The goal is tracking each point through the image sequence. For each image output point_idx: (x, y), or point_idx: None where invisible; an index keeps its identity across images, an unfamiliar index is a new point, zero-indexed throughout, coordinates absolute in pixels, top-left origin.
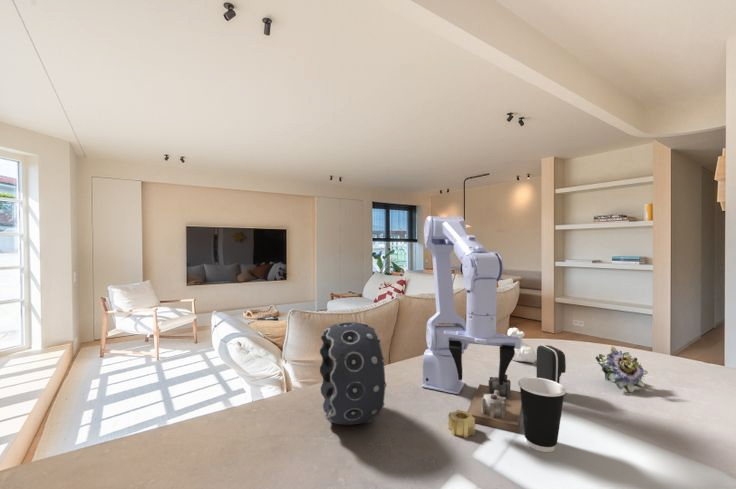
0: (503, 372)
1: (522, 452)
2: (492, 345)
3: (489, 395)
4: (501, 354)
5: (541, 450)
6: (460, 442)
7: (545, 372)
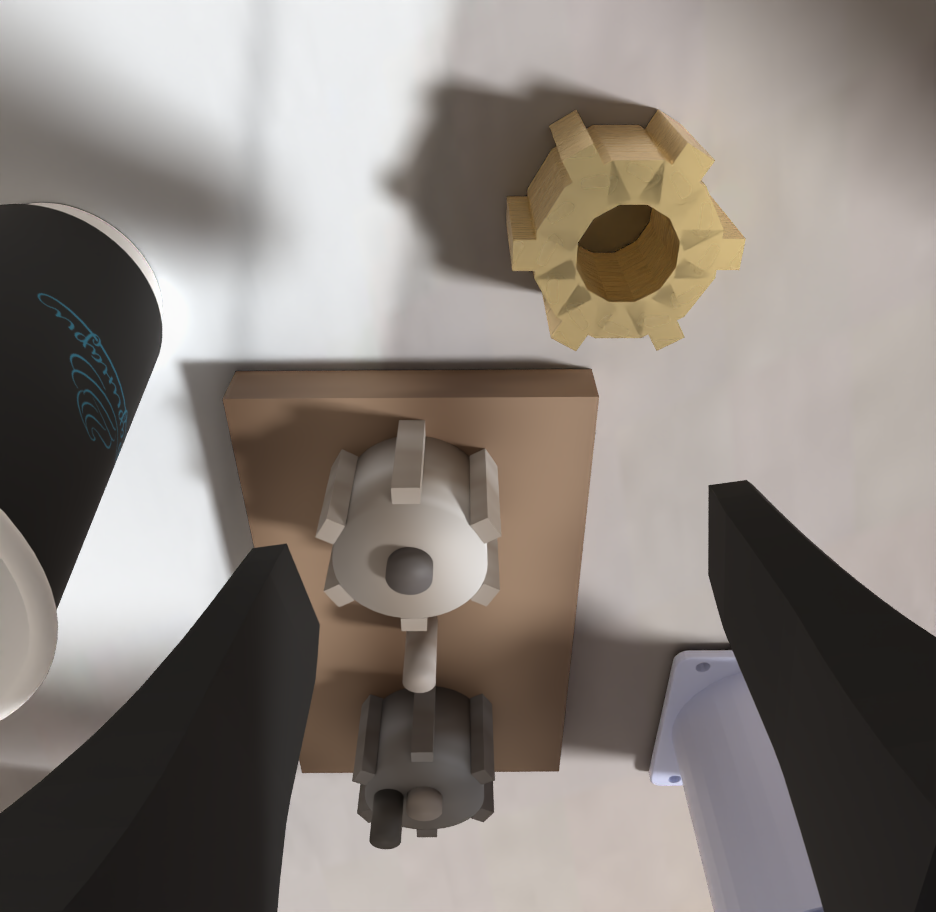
0: (192, 651)
1: (139, 122)
2: None
3: (448, 589)
4: (81, 886)
5: (30, 203)
6: (596, 25)
7: None
